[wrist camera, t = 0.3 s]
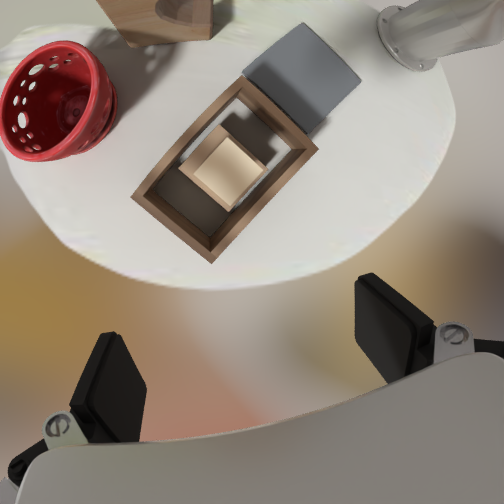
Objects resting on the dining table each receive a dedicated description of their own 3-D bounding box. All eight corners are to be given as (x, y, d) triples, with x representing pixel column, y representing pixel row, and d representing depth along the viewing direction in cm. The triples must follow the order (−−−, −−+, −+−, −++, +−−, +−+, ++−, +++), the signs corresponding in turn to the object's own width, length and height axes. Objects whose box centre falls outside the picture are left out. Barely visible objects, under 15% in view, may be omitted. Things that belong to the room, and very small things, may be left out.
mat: (300, 24, 30) (302, 22, 30) (359, 82, 34) (361, 81, 34) (241, 72, 32) (241, 71, 32) (307, 134, 36) (308, 133, 35)
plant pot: (94, 175, 33) (52, 185, 22) (31, 133, 29) (-20, 132, 18) (148, 90, 31) (123, 64, 20) (79, 53, 27) (40, 25, 16)
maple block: (222, 141, 32) (227, 137, 25) (250, 167, 34) (263, 170, 26) (196, 170, 33) (193, 174, 25) (224, 194, 34) (230, 206, 27)
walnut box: (236, 87, 33) (241, 75, 27) (302, 149, 37) (318, 148, 31) (141, 190, 35) (130, 197, 30) (210, 248, 39) (211, 264, 33)
